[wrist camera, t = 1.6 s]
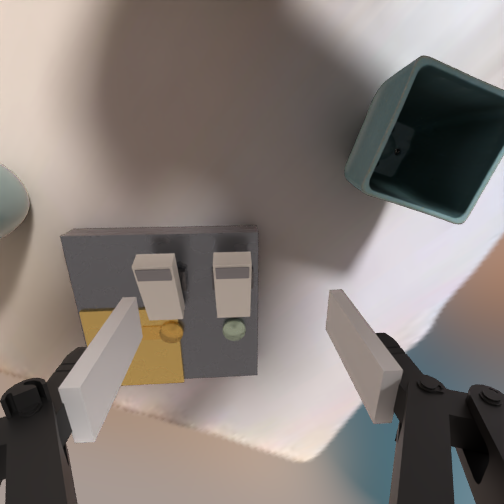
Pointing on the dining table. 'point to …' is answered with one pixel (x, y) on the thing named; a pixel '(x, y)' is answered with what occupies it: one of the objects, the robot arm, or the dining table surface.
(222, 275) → the rocker
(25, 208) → the cup
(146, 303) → the rocker
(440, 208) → the flower pot
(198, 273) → the panel
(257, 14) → the dining table surface
